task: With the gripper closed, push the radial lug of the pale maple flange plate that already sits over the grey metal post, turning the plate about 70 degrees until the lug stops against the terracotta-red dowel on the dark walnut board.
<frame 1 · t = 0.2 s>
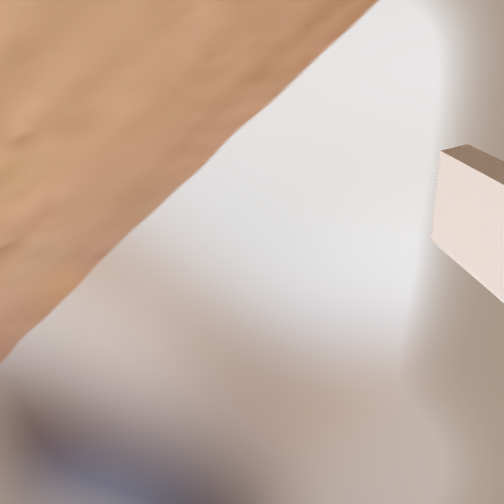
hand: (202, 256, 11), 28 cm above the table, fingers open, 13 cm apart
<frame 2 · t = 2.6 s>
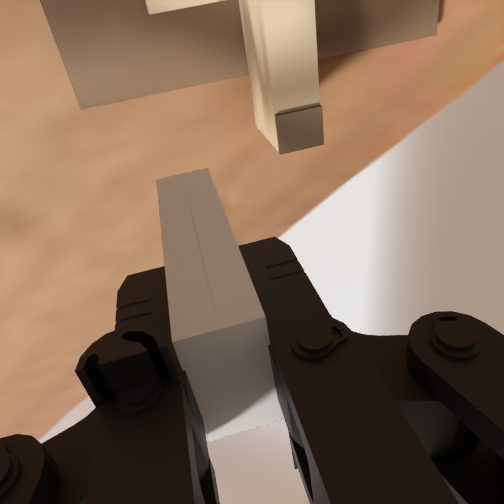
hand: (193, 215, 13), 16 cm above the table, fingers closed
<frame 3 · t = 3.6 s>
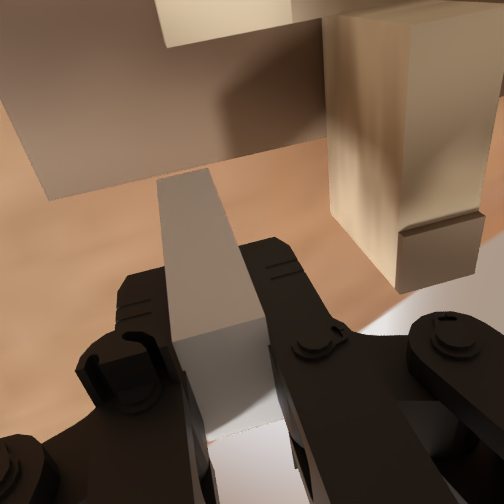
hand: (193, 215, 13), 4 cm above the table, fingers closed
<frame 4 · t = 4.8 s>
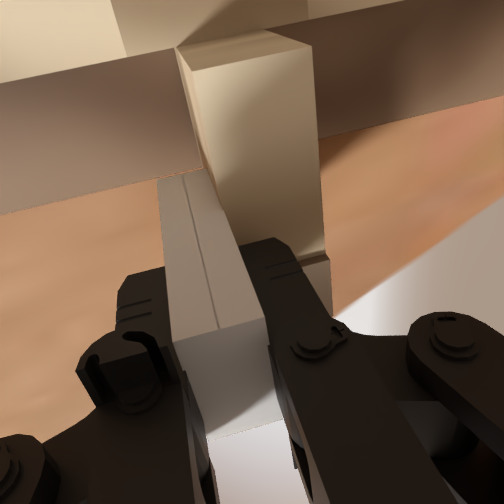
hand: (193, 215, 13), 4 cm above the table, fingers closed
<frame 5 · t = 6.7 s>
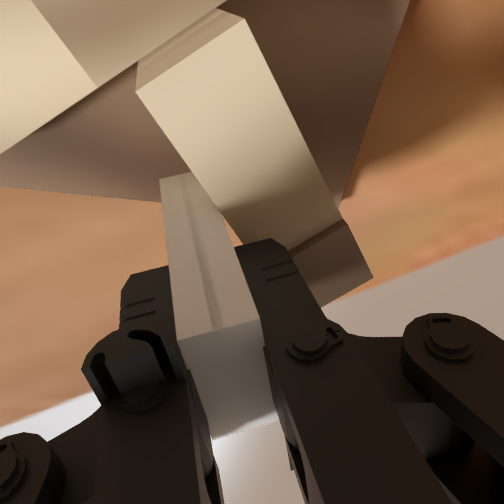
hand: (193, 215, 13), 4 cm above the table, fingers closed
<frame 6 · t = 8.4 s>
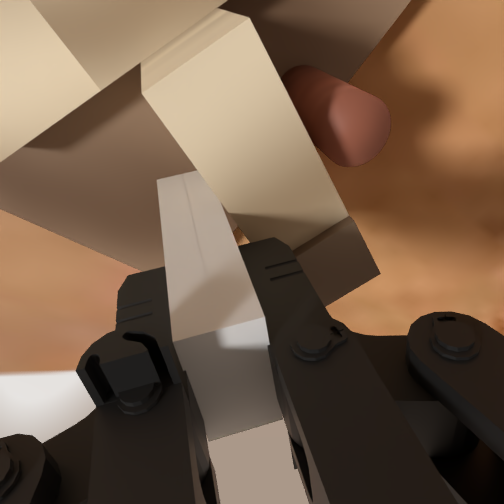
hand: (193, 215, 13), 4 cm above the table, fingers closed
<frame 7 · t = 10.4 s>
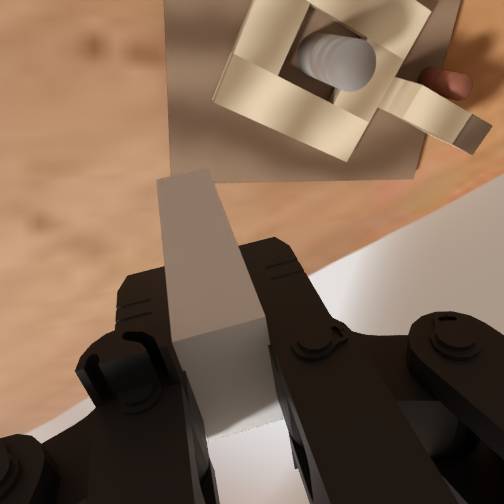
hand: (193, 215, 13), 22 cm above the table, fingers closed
post board: (310, 53, 32), on the table
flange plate: (369, 81, 30), point 4 cm above the table, hinge at 67.9°
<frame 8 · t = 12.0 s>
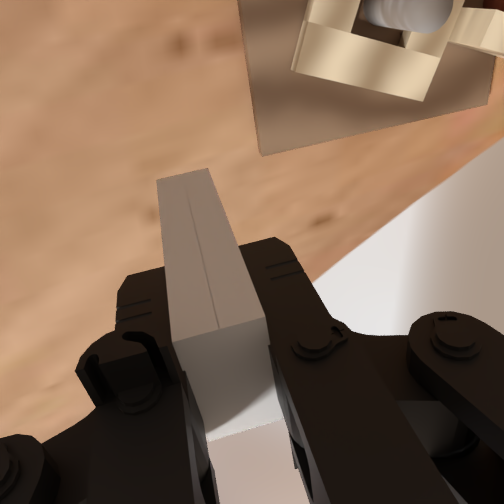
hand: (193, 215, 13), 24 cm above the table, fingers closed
post board: (374, 3, 33), on the table
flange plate: (440, 17, 31), point 4 cm above the table, hinge at 67.9°
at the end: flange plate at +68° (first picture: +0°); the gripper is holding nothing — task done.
